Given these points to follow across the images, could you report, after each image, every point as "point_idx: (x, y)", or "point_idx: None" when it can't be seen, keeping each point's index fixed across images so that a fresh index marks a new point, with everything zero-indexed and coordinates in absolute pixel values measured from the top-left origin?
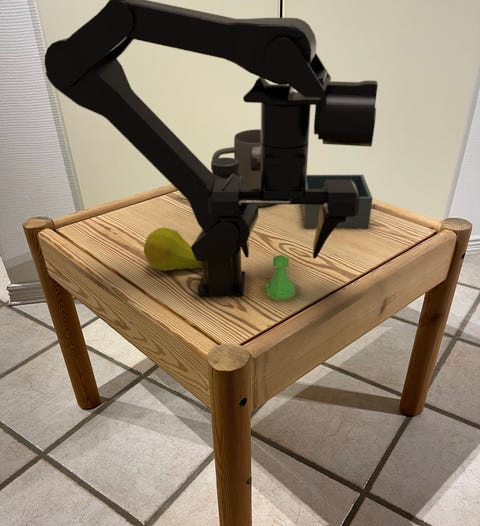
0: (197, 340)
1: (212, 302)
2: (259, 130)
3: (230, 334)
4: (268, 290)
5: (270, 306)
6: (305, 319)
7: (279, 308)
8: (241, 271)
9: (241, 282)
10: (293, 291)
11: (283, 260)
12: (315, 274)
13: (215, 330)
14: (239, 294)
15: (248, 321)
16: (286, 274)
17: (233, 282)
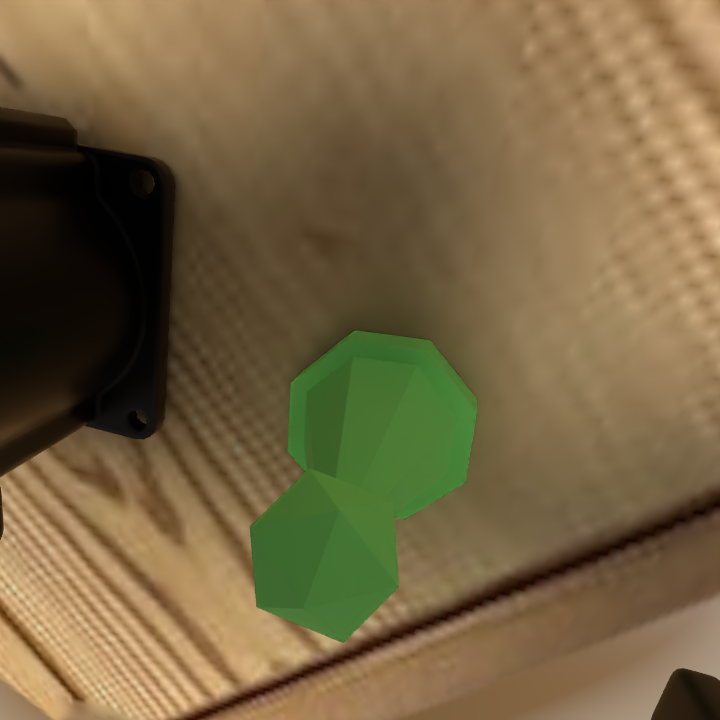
0: (4, 662)
1: None
2: None
3: (119, 667)
4: (297, 448)
5: None
6: (461, 675)
7: None
8: (139, 159)
9: (139, 319)
10: (452, 487)
11: (330, 630)
12: (712, 238)
13: (60, 629)
14: (134, 437)
15: (191, 614)
16: (396, 510)
17: (62, 412)
